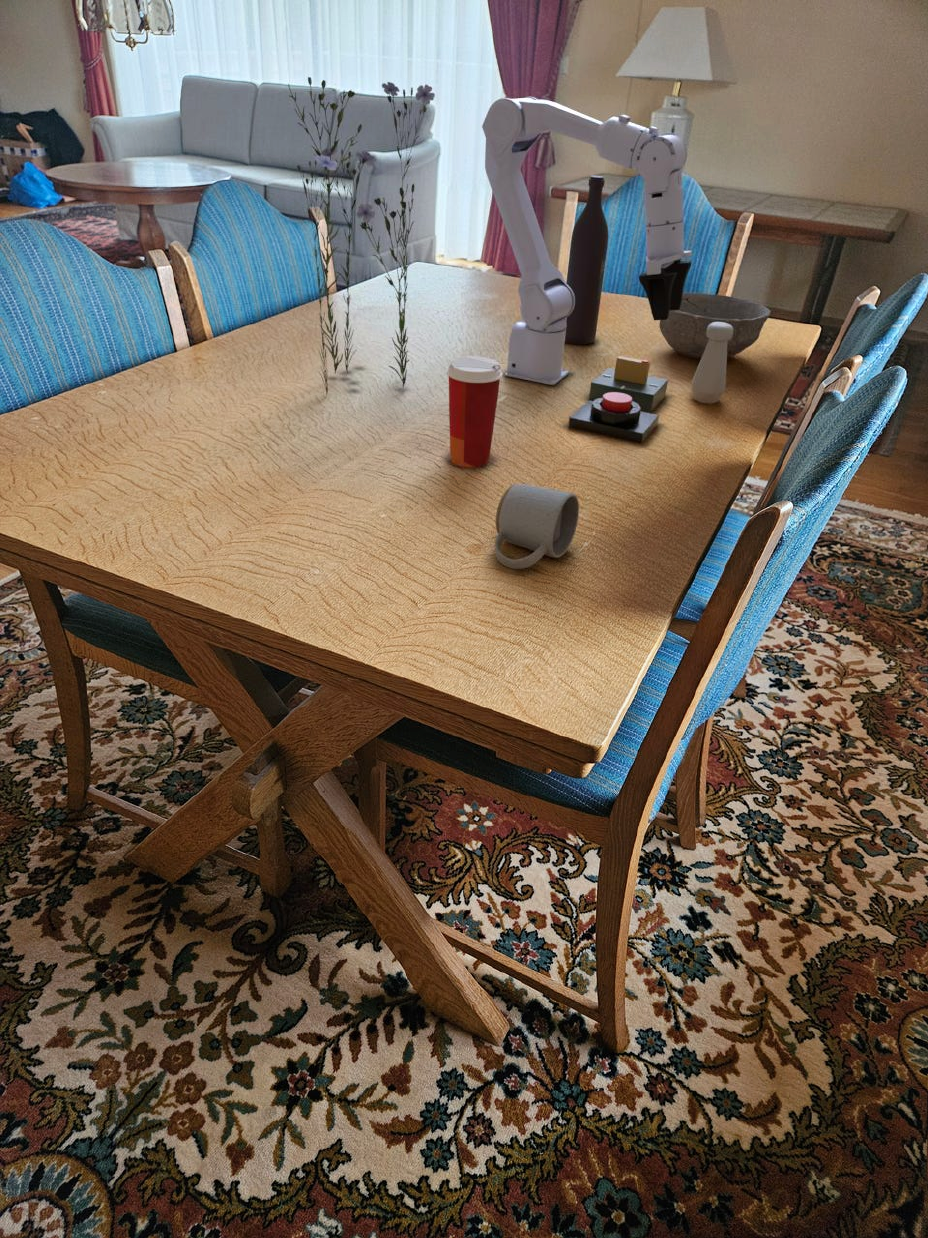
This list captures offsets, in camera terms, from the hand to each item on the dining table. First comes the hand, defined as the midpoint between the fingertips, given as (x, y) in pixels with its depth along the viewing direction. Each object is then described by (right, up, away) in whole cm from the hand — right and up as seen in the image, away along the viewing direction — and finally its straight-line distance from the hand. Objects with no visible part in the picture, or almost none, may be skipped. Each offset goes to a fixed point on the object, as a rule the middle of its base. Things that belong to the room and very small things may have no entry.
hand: (667, 314), depth 139 cm
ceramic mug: (-25, -41, -36) cm, 60 cm away
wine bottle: (-10, +8, +36) cm, 39 cm away
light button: (-9, -16, -3) cm, 19 cm away
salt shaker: (+9, -11, +11) cm, 18 cm away
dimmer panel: (-5, -11, +10) cm, 15 cm away
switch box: (-9, -18, -2) cm, 21 cm away
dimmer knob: (-4, -8, +8) cm, 12 cm away
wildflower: (-50, -9, +9) cm, 51 cm away
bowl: (+15, +3, +32) cm, 35 cm away
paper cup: (-32, -26, -15) cm, 44 cm away
